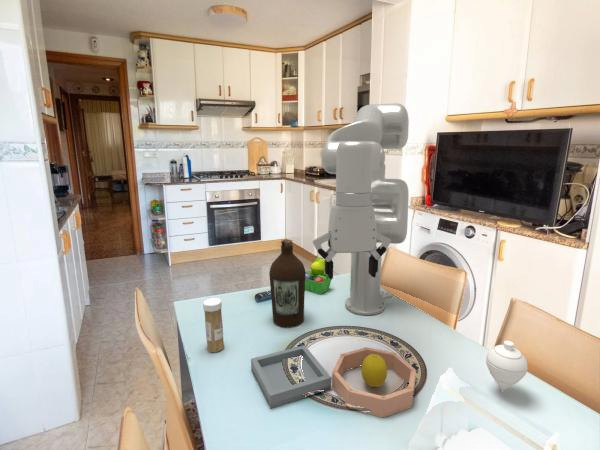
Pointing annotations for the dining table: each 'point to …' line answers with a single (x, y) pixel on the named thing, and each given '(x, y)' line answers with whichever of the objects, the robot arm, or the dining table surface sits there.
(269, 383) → the grey tray
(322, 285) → the fruit basket
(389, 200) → the robot arm
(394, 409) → the terracotta ring
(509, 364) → the spinning top
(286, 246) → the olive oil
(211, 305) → the sprinkles bottle
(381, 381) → the lemon
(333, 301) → the dining table surface
